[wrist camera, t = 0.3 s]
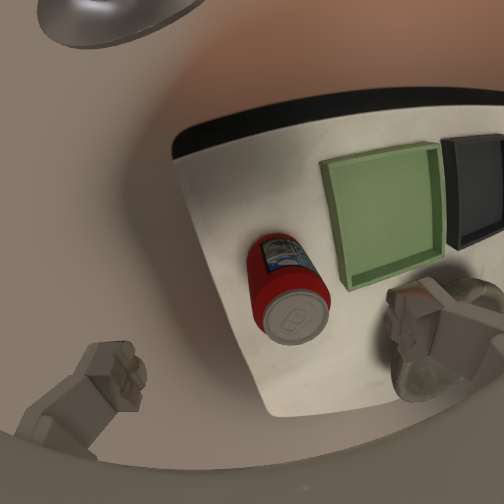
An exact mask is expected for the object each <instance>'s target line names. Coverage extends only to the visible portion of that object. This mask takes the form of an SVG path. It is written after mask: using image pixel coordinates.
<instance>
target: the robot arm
mask: <svg viewBox="0 0 504 504" xmlns="http://www.w3.org/2000/svg"><path fill="white" fill-rule="evenodd" d="M90 1H105V0H90ZM386 302H387V303H388V304H389V308H388V309H387V311H386V312H385V325H386V330H387V332H388V335H389V337H390V338H391V340H393V341H395V342H397V343H399V344H398V351H399V353H400V354H401V356H402V357H403V359H404V361H405V362H406V364H407V363H410V362H413V361H415V360H418V359H421V358H423V357H426V356H428V355H429V357H431V358H433V359H434V360H436V361H438V362H440V363H441V364H443V365H445V366H447V367H448V368H450V369H452V370H454V371H455V372H457V373H459V374H461V375H462V376H464V377H466V378H467V379H469V380H471V381H472V382H471V384H470V386H469V388H468V390H467V392H466V394H465V399H463V400H462V401H460V402H458V403H457V404H454V405H453V406H451V407H449V408H447V409H445V410H443V411H441V412H439V413H437V414H435V415H433V416H431V417H429V418H427V419H425V420H423V421H421V422H418V423H416V424H414V425H412V426H409V427H407V428H404V429H402V430H399V431H397V432H394V433H392V434H390V435H387V436H384V437H381V438H378V439H375V440H373V441H370V442H366V443H364V444H360V445H357V446H354V447H350V448H347V449H344V450H340V451H336V452H332V453H328V454H324V455H320V456H316V457H311V458H307V459H301V460H296V461H291V462H285V463H279V464H272V465H264V466H256V467H246V468H234V469H215V470H175V469H157V468H146V467H135V466H128V465H120V464H114V463H108V462H102V461H97V460H98V459H97V457H96V455H94V454H93V453H92V452H90V451H89V450H88V448H89V446H90V445H91V444H92V443H93V442H94V440H95V439H96V438H97V437H98V436H99V434H100V433H101V432H102V431H103V430H104V428H105V427H106V426H107V425H108V424H109V422H110V421H111V420H112V419H113V418H114V416H115V415H116V414H117V412H138V411H139V408H140V403H141V400H142V397H143V396H142V394H141V392H140V391H141V390H142V389H143V388H144V387H145V386H146V381H147V370H146V368H145V365H144V363H143V361H142V360H141V359H140V358H139V357H137V356H136V355H135V348H134V346H133V345H132V343H131V342H129V341H114V342H103V343H102V342H101V343H92V344H90V345H88V347H87V349H86V351H85V353H84V354H83V356H82V358H81V360H80V362H79V364H78V365H77V367H76V369H75V371H74V373H73V375H70V376H68V377H67V378H65V379H64V380H63V381H61V382H60V383H59V384H58V385H56V386H55V387H54V388H53V389H51V390H50V391H49V392H48V393H46V394H45V395H44V396H43V397H41V398H40V399H39V400H38V401H36V402H35V403H34V404H33V405H32V406H30V407H29V408H28V409H26V411H25V413H24V415H23V417H22V419H21V421H20V423H19V426H18V427H17V430H16V432H15V434H14V436H12V435H10V434H8V433H5V432H3V431H1V430H0V504H504V314H501V313H498V312H495V311H491V310H488V309H485V308H482V307H479V306H476V305H472V304H469V303H466V302H463V301H460V302H457V301H456V300H455V299H454V298H453V297H452V296H451V295H450V294H448V293H447V292H446V291H445V290H444V289H443V288H442V287H441V286H440V285H439V284H438V283H437V282H436V281H435V280H434V279H432V278H431V277H425V278H422V279H419V280H416V281H415V282H412V283H409V284H405V285H402V286H399V287H396V288H392V289H389V290H388V292H387V296H386Z"/></svg>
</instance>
